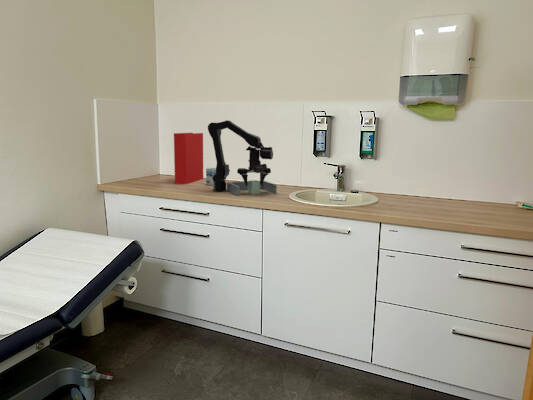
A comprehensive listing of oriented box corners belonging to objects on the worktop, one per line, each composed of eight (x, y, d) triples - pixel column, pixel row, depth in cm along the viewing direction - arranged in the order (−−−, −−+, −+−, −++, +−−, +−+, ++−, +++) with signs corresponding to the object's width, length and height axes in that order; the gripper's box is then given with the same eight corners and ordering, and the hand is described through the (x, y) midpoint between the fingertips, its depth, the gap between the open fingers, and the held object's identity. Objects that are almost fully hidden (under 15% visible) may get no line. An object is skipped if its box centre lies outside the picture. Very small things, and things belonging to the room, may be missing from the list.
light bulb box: (213, 186, 246) (213, 169, 244) (205, 185, 250) (205, 168, 248) (224, 184, 254) (224, 167, 252) (217, 183, 258) (217, 166, 256)
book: (192, 178, 278) (192, 132, 271) (203, 179, 275) (202, 133, 269) (173, 183, 252) (172, 133, 246) (185, 184, 250) (184, 133, 243)
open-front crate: (237, 195, 216) (238, 186, 215) (227, 190, 231) (227, 182, 230) (276, 193, 226) (276, 184, 225) (263, 188, 241) (263, 180, 240)
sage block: (251, 194, 222) (251, 181, 221) (248, 192, 226) (248, 180, 225) (259, 193, 224) (259, 181, 223) (256, 192, 229) (256, 180, 227)
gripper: (244, 160, 210) (244, 188, 213) (275, 159, 219) (274, 187, 222) (237, 158, 220) (236, 185, 223) (266, 157, 228) (266, 184, 231)
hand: (253, 185), depth 225 cm, fingers open, 9 cm apart
